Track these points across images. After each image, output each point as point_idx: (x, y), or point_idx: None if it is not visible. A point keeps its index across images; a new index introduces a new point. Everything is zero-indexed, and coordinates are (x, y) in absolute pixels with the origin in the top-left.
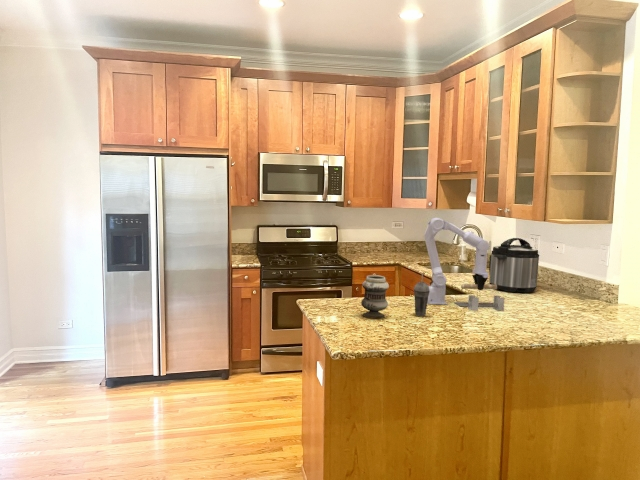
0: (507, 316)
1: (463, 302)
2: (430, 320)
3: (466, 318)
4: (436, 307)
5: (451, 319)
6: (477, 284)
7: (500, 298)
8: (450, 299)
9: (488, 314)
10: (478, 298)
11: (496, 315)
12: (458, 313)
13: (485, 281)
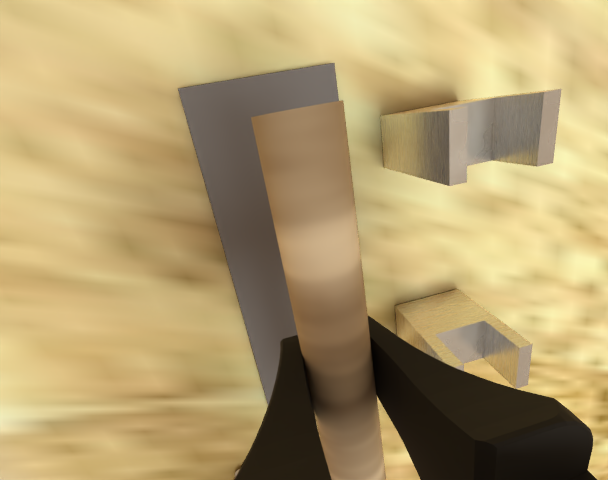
0: (594, 123)
1: (262, 361)
2: (604, 472)
3: (599, 358)
4: (403, 476)
5: (604, 412)
6: (363, 421)
7: (549, 139)
8: (149, 430)
9: (541, 240)
10: (526, 341)
11: (565, 195)
12: None
13: (479, 381)
